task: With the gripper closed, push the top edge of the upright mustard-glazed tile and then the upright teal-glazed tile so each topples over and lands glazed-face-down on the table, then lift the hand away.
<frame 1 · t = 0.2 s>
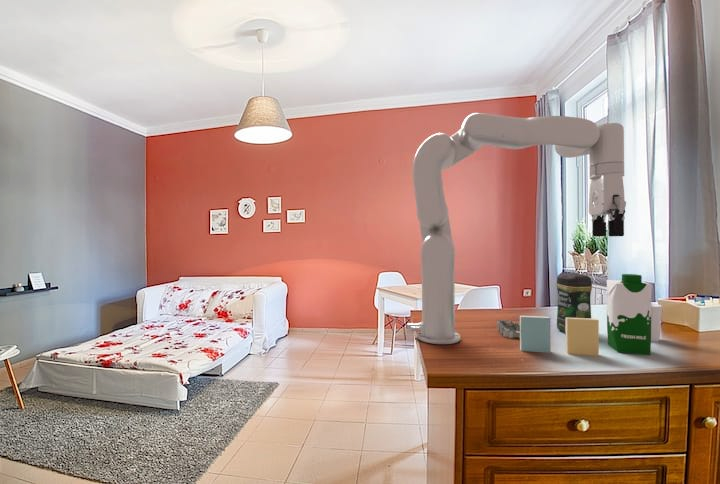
hand: (607, 236, 92), 30 cm above the table, tool pointing down, fingers open, 9 cm apart
coffee jar: (573, 333, 108), on the table
ochre tile: (581, 353, 89), on the table
milk carton: (628, 350, 91), on the table
egg carton: (511, 334, 107), on the table
teal tile: (535, 350, 91), on the table
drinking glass: (646, 339, 101), on the table
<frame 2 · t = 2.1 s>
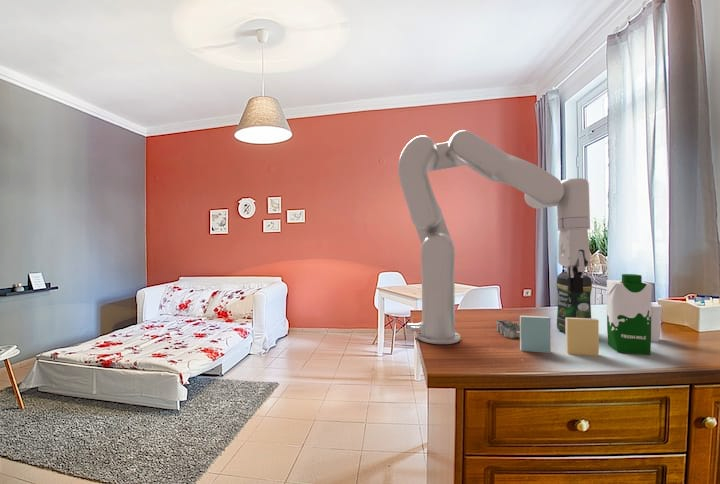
hand: (575, 291, 94), 15 cm above the table, tool pointing down, fingers closed
nothing on the table moved.
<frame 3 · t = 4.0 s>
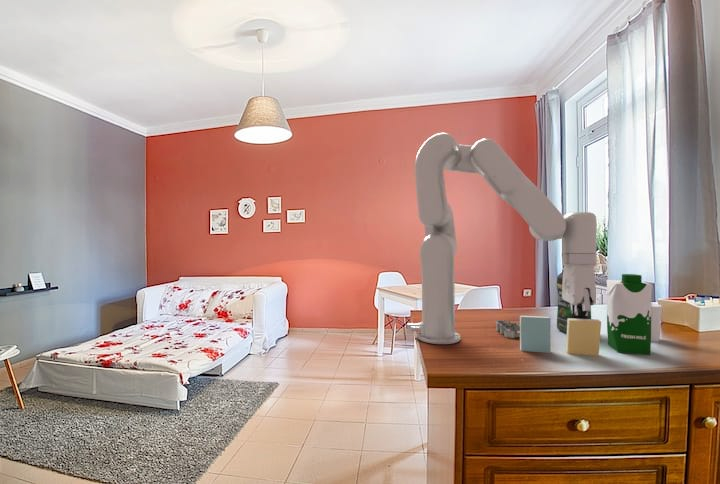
hand: (579, 329, 90), 6 cm above the table, tool pointing down, fingers closed
ochre tile: (581, 353, 89), on the table, tilted 10°
everything else where it was.
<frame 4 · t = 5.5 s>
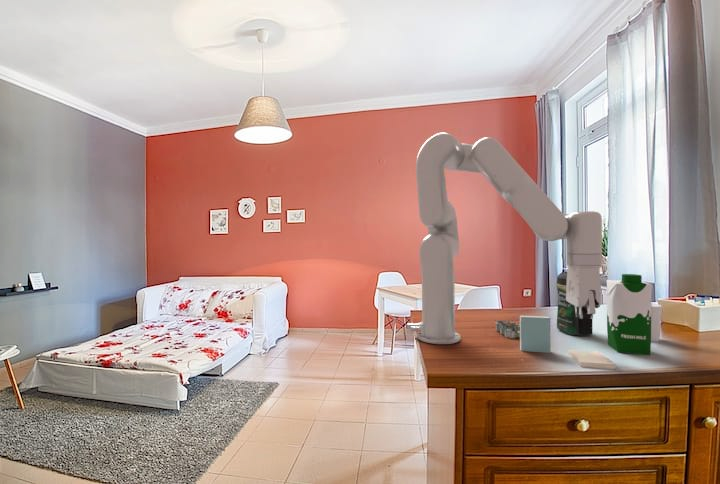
hand: (584, 333, 87), 6 cm above the table, tool pointing down, fingers closed
ochre tile: (583, 353, 88), on the table, tilted 90°
everything else where it was.
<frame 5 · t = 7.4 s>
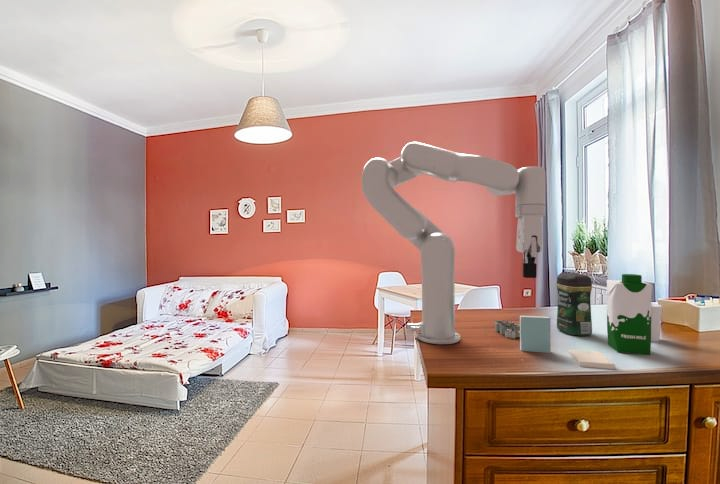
hand: (529, 277, 97), 19 cm above the table, tool pointing down, fingers closed
nothing on the table moved.
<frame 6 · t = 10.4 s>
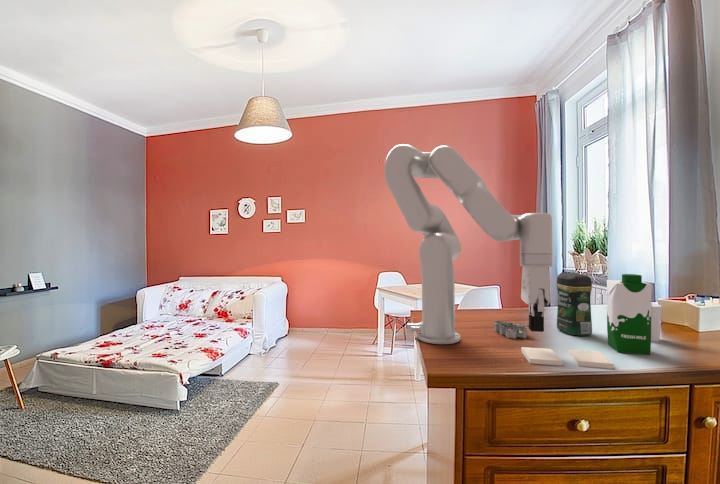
hand: (536, 330, 90), 6 cm above the table, tool pointing down, fingers closed
teal tile: (535, 350, 90), on the table, tilted 90°
everything else where it was.
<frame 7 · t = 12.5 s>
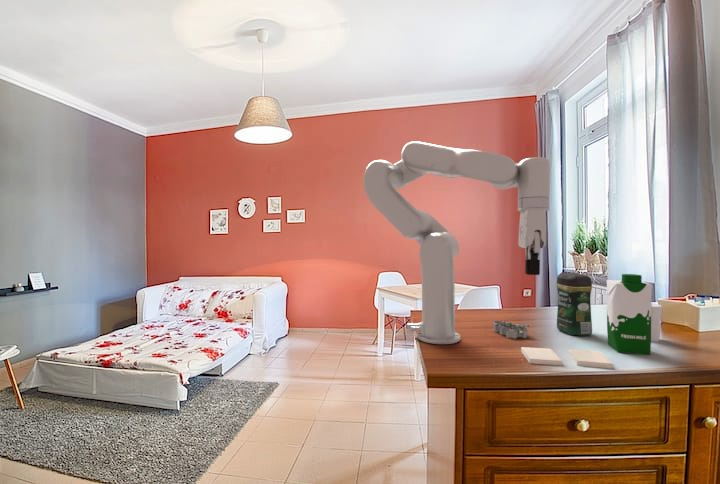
hand: (532, 274, 92), 20 cm above the table, tool pointing down, fingers closed
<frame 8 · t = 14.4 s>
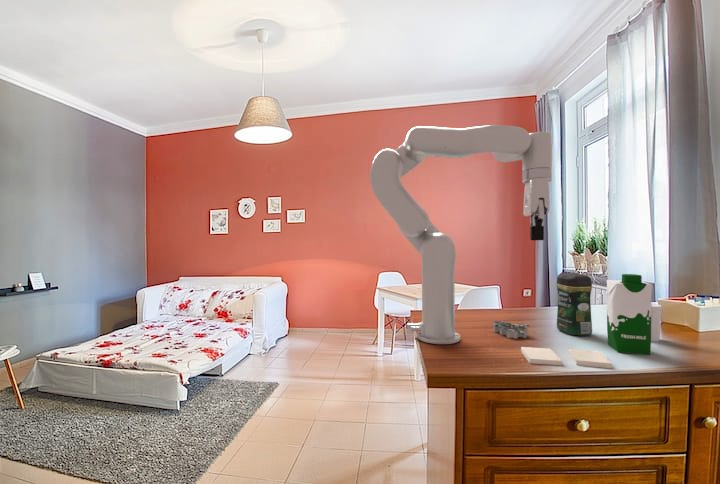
hand: (537, 240, 100), 29 cm above the table, tool pointing down, fingers closed
at the end: teal tile tilted 90°; ochre tile tilted 90°; teal tile inside the target area (3.6 cm from its centre), on the table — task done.
